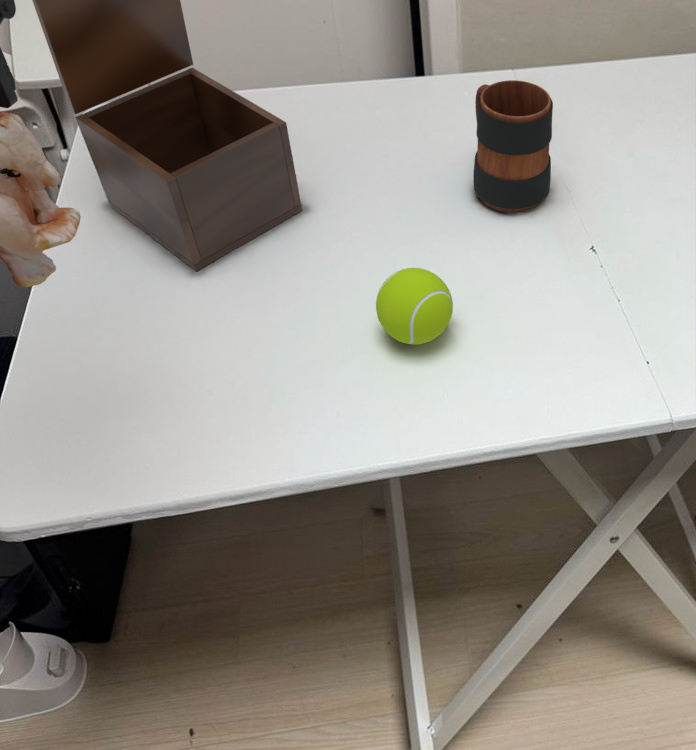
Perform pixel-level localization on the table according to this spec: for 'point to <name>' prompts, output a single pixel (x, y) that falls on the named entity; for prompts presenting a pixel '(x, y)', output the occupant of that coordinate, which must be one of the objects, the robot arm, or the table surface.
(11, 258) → the figurine
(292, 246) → the table surface
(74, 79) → the lid
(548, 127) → the mug
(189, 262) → the chest
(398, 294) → the tennis ball
